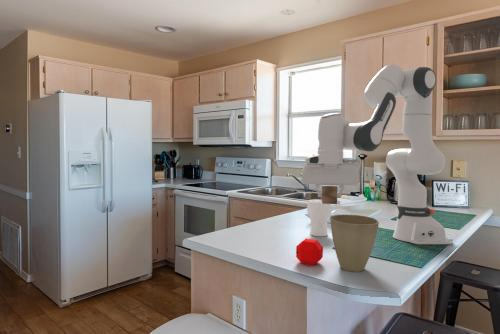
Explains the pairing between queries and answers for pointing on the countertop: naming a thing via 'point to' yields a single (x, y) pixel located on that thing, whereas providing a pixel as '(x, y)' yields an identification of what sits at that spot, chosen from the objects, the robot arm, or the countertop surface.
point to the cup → (318, 217)
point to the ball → (309, 251)
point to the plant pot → (353, 240)
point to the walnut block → (329, 194)
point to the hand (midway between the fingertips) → (329, 197)
